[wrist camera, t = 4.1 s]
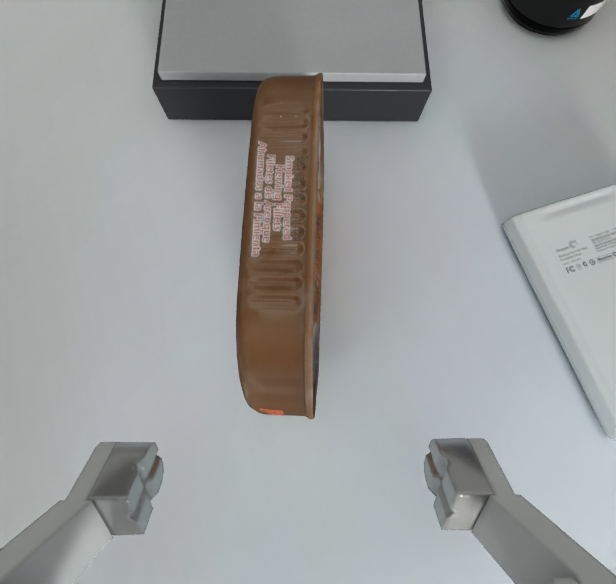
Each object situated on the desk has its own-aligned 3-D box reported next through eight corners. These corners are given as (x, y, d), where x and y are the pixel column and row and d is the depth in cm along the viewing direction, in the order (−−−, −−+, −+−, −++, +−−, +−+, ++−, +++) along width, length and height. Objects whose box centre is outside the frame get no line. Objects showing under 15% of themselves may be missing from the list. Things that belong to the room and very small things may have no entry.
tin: (317, 409, 18) (330, 436, 10) (256, 407, 18) (218, 432, 10) (324, 155, 22) (339, 20, 13) (274, 153, 22) (257, 16, 13)
